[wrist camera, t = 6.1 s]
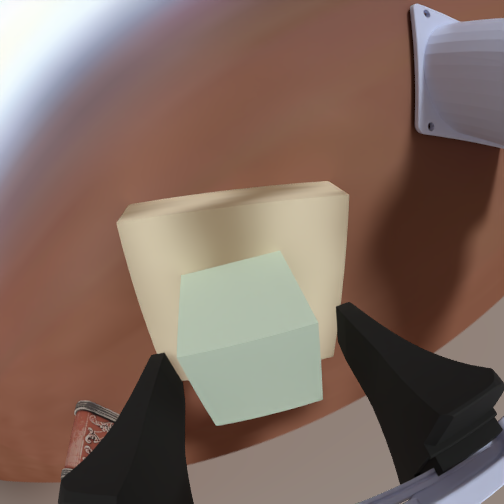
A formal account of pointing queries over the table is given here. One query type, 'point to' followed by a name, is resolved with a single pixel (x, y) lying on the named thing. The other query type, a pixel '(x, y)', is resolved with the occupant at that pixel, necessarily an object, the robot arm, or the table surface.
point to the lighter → (87, 432)
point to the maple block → (236, 248)
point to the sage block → (248, 339)
